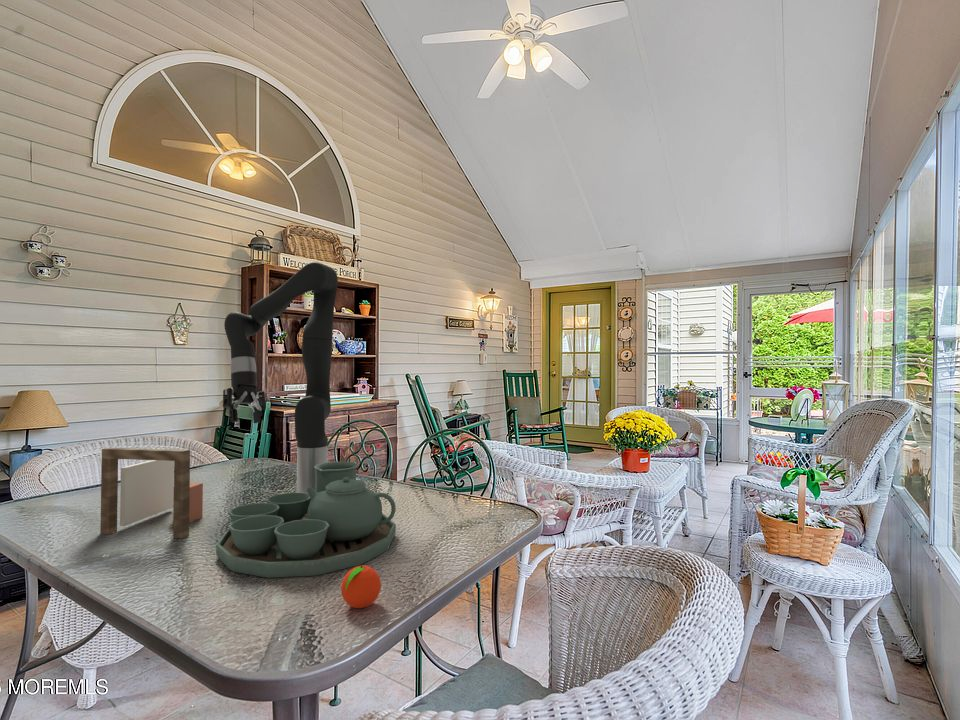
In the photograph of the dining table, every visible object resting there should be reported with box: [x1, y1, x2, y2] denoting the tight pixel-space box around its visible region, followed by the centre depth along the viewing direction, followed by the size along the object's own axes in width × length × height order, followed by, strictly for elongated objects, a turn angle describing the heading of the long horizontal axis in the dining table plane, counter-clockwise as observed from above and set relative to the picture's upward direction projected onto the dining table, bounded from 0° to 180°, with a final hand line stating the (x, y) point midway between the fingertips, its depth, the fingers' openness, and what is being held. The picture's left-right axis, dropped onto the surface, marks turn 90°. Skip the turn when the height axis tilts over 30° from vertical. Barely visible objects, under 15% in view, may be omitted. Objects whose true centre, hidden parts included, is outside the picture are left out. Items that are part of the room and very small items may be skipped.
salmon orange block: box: [172, 482, 204, 523], centre depth 138 cm, size 5×5×10 cm
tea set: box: [215, 461, 397, 579], centre depth 119 cm, size 40×40×16 cm
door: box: [119, 460, 174, 527], centre depth 137 cm, size 17×2×15 cm, turn 173°
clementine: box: [340, 564, 382, 609], centre depth 88 cm, size 8×7×7 cm
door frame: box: [99, 446, 191, 539], centre depth 125 cm, size 22×2×21 cm, turn 83°
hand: (245, 422), depth 157 cm, fingers open, 8 cm apart
